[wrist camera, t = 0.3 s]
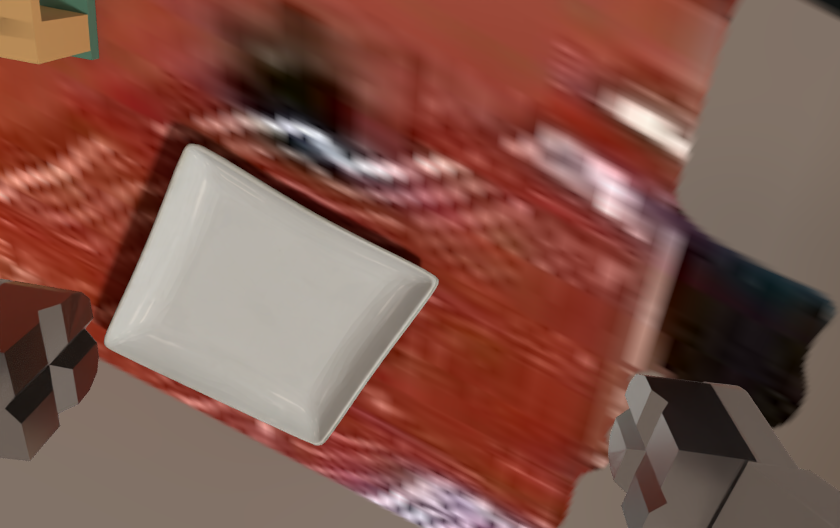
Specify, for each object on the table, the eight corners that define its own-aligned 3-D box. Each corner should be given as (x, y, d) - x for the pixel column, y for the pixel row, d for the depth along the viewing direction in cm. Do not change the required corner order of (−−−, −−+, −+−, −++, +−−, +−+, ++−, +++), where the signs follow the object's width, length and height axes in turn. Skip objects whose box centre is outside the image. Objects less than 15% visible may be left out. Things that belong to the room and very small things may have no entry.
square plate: (326, 428, 73) (320, 451, 70) (115, 327, 68) (97, 347, 64) (443, 265, 62) (442, 284, 58) (201, 128, 56) (184, 139, 53)
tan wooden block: (36, -30, 49) (-28, -28, 43) (84, -20, 49) (28, -17, 43) (44, 42, 52) (-15, 54, 45) (90, 50, 52) (38, 64, 45)
